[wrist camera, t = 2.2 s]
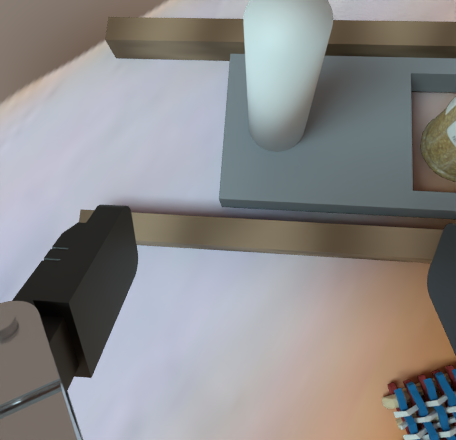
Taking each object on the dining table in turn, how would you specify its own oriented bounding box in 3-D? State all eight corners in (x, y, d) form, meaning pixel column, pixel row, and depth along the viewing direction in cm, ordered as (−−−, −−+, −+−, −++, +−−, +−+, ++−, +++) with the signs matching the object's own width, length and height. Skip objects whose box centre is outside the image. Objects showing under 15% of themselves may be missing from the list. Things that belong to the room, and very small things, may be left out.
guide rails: (587, 45, 26) (614, 24, 24) (612, 274, 23) (645, 271, 21) (118, 37, 28) (108, 17, 26) (90, 242, 25) (76, 237, 23)
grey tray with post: (595, 81, 25) (854, -90, 14) (611, 227, 23) (921, 161, 12) (232, 71, 27) (214, -85, 16) (222, 206, 25) (194, 133, 14)
